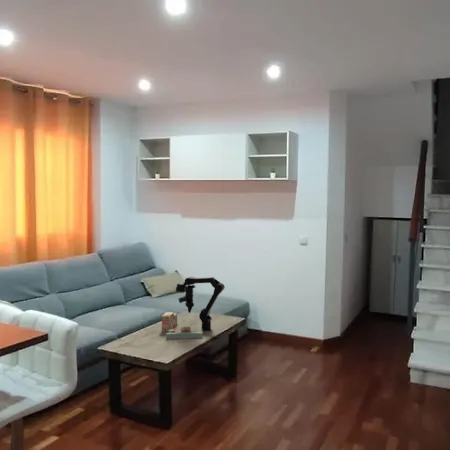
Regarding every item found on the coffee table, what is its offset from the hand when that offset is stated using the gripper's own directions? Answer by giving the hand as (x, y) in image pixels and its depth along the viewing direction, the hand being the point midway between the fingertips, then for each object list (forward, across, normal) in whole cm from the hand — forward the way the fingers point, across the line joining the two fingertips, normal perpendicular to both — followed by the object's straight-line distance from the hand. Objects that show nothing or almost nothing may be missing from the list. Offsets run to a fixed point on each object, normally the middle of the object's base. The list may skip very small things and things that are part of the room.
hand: (189, 312), depth 382 cm
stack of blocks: (+12, -2, -15) cm, 20 cm away
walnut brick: (+12, +18, -4) cm, 22 cm away
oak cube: (+12, +18, -14) cm, 26 cm away
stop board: (+12, +24, -5) cm, 28 cm away
